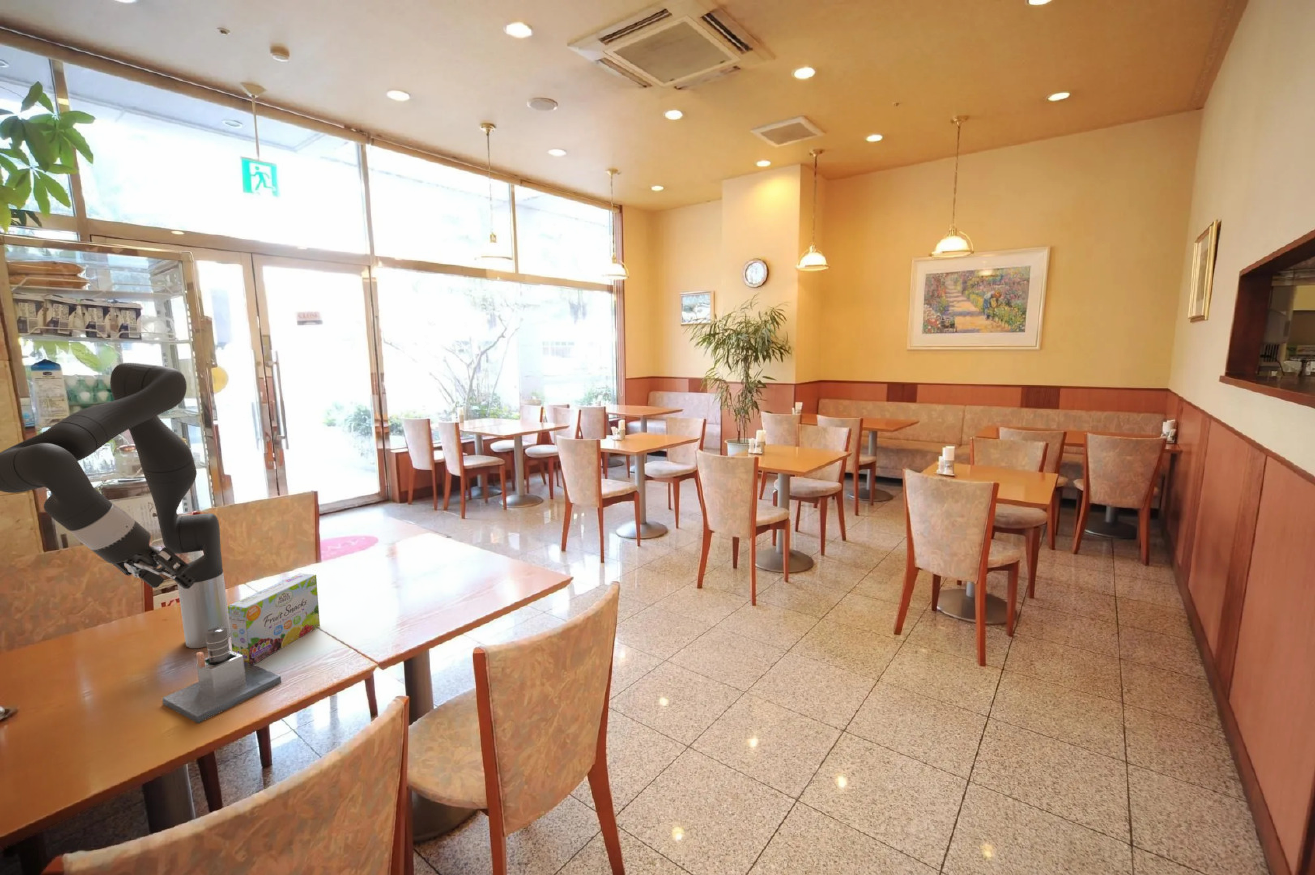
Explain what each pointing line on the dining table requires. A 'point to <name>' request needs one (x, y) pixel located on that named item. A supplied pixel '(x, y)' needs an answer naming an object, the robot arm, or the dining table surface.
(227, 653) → the grey round-topped cylinder
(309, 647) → the dining table surface
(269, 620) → the snack box
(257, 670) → the grey square socket base
